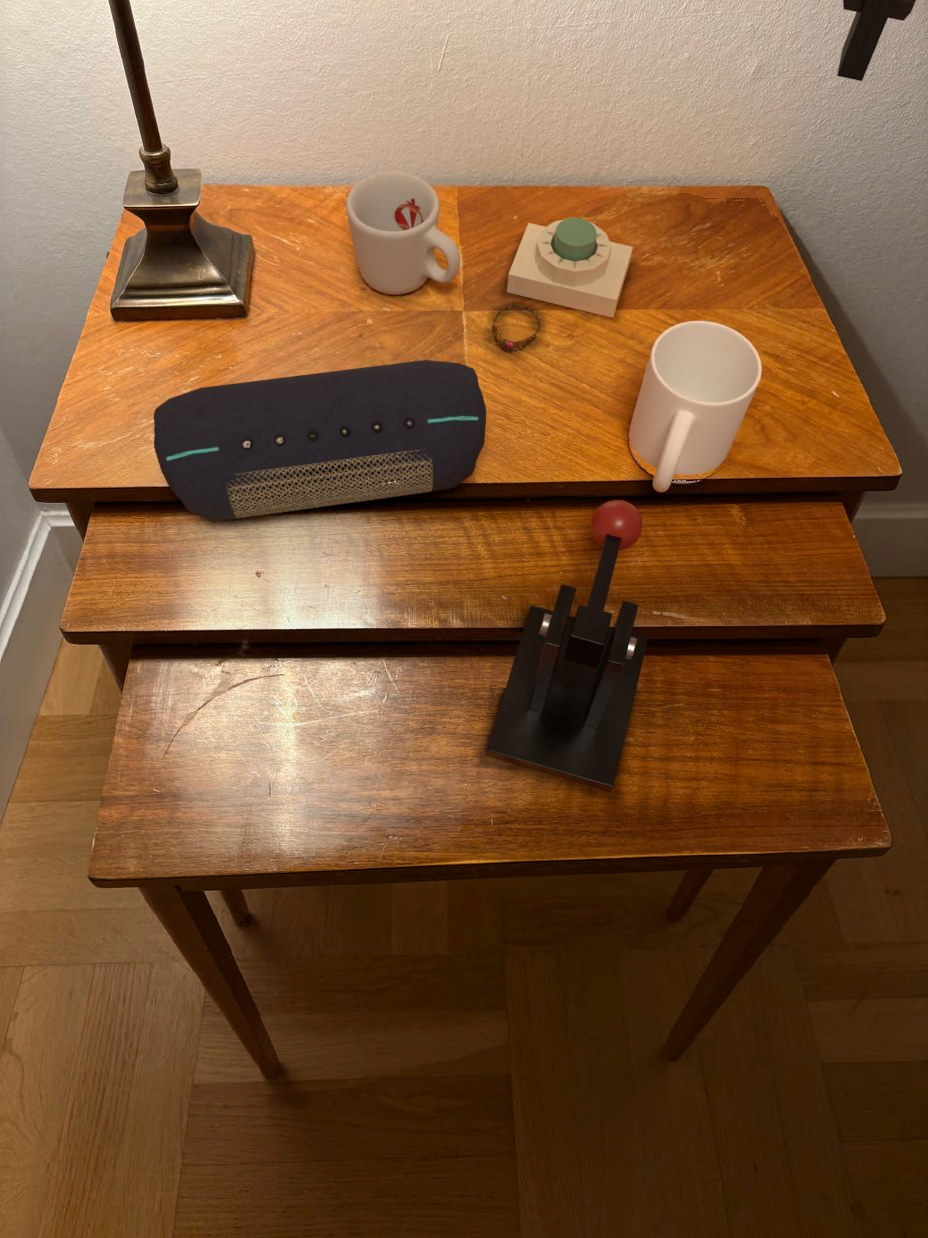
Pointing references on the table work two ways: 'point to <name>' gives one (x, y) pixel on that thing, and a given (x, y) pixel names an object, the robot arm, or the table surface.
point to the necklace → (509, 344)
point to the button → (575, 239)
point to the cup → (398, 233)
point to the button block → (569, 272)
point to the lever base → (568, 698)
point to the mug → (693, 399)
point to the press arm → (602, 580)
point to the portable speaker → (321, 438)
